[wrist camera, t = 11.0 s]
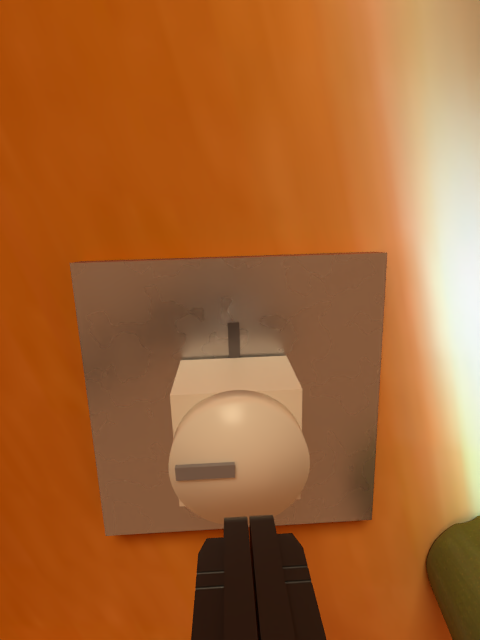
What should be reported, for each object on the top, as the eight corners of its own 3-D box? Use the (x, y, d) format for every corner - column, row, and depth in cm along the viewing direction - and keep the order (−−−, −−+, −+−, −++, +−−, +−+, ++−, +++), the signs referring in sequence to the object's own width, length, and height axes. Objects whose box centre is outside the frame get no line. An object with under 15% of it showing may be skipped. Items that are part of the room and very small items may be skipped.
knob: (288, 353, 19) (312, 402, 14) (287, 448, 21) (309, 525, 15) (178, 358, 19) (161, 409, 14) (186, 454, 20) (173, 533, 15)
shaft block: (362, 502, 23) (398, 571, 18) (113, 516, 23) (83, 592, 18) (375, 251, 20) (424, 255, 15) (81, 261, 19) (33, 268, 14)
